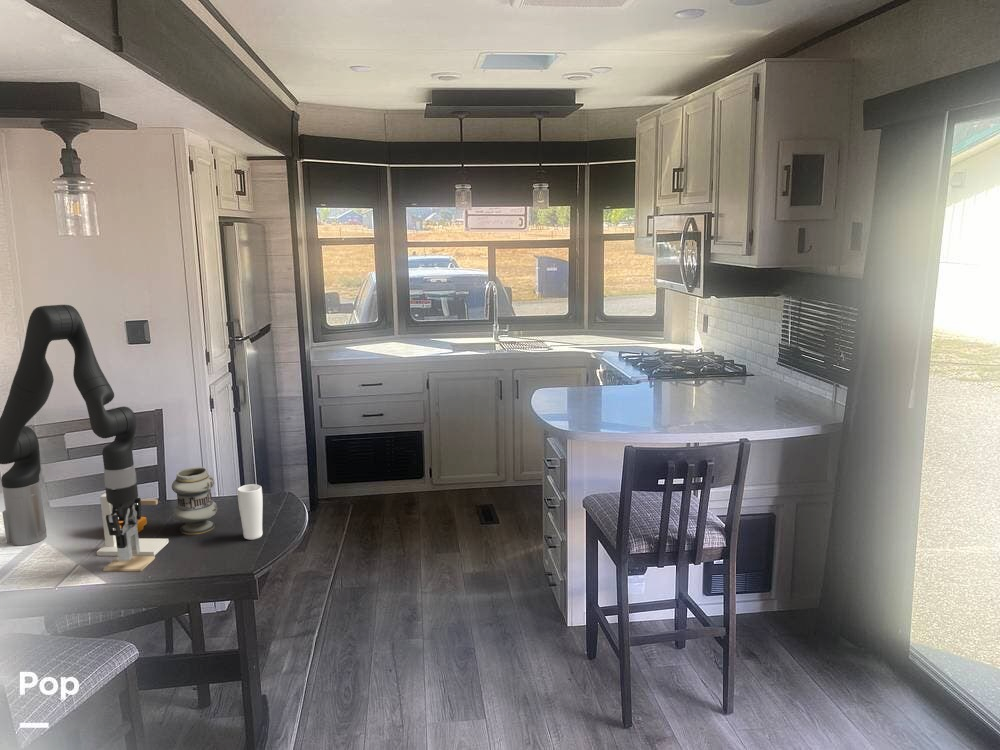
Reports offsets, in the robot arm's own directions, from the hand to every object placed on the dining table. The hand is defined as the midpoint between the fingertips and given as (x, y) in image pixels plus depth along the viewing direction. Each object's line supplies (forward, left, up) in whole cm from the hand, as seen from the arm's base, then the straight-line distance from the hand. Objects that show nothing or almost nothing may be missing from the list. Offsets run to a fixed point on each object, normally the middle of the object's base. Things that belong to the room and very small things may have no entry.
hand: (127, 542), depth 206 cm
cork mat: (0, 0, -6) cm, 6 cm away
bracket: (-12, +22, -7) cm, 26 cm away
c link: (0, 0, -4) cm, 4 cm away
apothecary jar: (+8, +25, -7) cm, 27 cm away
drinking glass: (+27, +19, -7) cm, 34 cm away
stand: (-4, +10, -6) cm, 13 cm away
